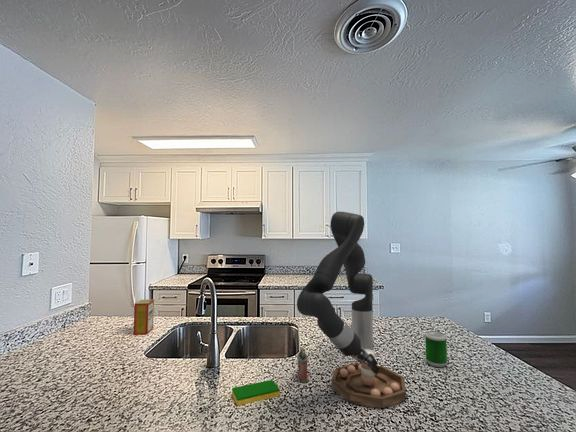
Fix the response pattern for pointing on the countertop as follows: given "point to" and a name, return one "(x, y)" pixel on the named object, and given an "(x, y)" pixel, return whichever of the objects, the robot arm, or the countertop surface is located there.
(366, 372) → the bead stack
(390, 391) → the seated beads
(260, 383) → the dish sponge
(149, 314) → the baking soda box
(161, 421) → the countertop surface
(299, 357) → the lighter
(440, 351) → the soda can
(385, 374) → the bead tray
